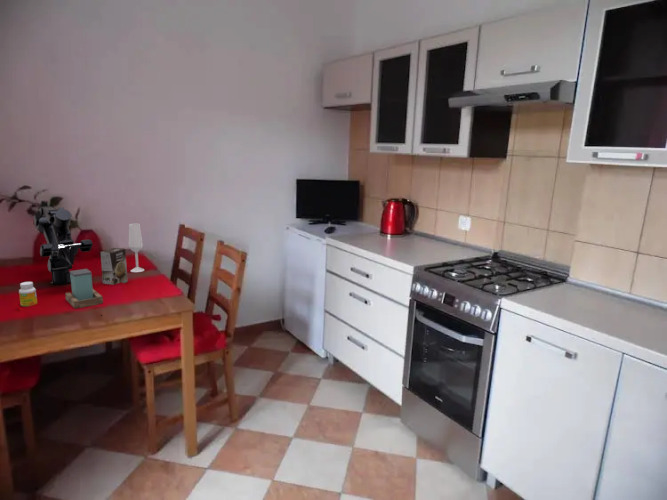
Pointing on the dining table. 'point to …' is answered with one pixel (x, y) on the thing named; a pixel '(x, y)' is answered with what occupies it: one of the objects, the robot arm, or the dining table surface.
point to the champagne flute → (135, 243)
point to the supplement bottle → (27, 294)
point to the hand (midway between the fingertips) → (72, 264)
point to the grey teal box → (81, 284)
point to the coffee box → (114, 266)
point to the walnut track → (84, 303)
